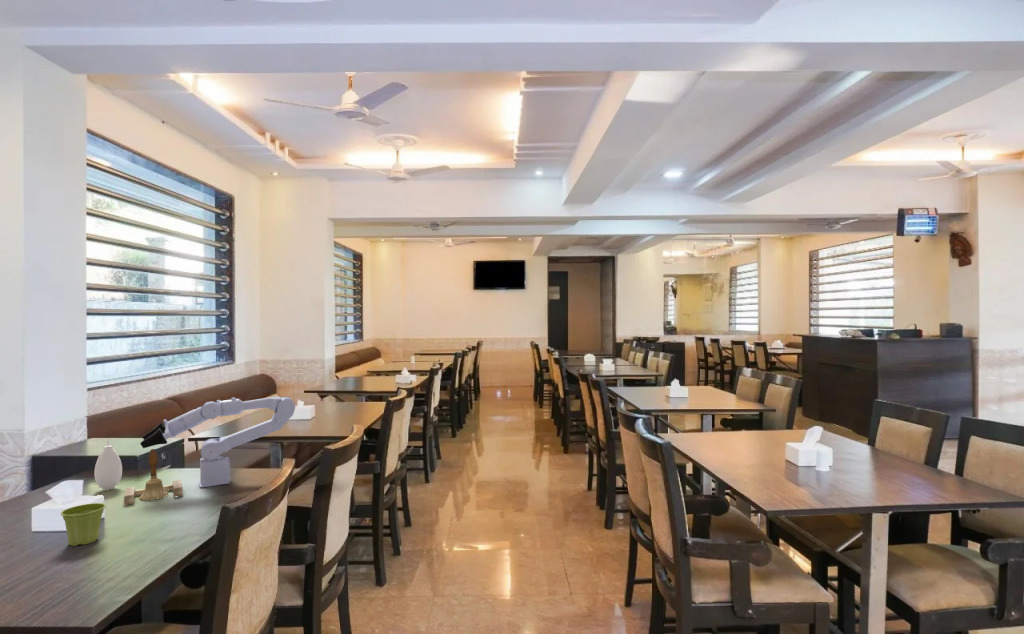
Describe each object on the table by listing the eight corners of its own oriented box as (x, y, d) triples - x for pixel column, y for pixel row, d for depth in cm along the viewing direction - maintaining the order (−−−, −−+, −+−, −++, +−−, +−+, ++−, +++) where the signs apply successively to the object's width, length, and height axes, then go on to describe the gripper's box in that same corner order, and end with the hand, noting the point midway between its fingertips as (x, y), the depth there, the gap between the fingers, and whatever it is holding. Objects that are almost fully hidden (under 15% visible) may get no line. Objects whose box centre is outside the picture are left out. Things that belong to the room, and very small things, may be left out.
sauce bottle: (90, 491, 192) (90, 439, 192) (116, 485, 198) (115, 435, 199) (100, 494, 188) (100, 441, 188) (126, 488, 194) (125, 437, 195)
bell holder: (181, 488, 193) (181, 479, 193) (182, 496, 183) (182, 487, 183) (125, 497, 184) (125, 488, 184) (124, 505, 174) (124, 496, 174)
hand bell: (158, 500, 179) (157, 451, 179) (133, 501, 179) (132, 452, 180) (174, 493, 187) (173, 446, 188) (150, 493, 188) (149, 446, 188)
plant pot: (114, 536, 147) (114, 504, 147) (76, 550, 138) (76, 516, 139) (90, 533, 150) (90, 501, 151) (52, 546, 141) (51, 512, 142)
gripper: (179, 408, 200) (139, 427, 194) (177, 418, 187) (134, 438, 181) (189, 424, 201) (149, 443, 196) (188, 435, 189) (145, 456, 183)
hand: (142, 442), depth 189 cm, fingers open, 7 cm apart
